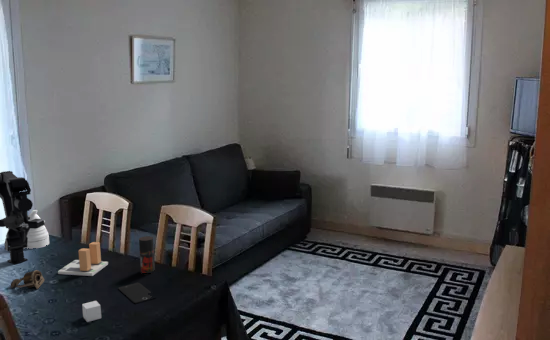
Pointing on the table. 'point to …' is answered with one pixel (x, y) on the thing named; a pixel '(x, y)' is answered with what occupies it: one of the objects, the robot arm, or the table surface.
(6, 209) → the robot arm
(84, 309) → the white cube
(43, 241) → the honey pot
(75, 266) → the switch bank
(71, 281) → the table surface
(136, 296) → the cell phone
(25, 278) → the brown ringed piece
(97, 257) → the tab
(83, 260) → the tab
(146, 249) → the deodorant
